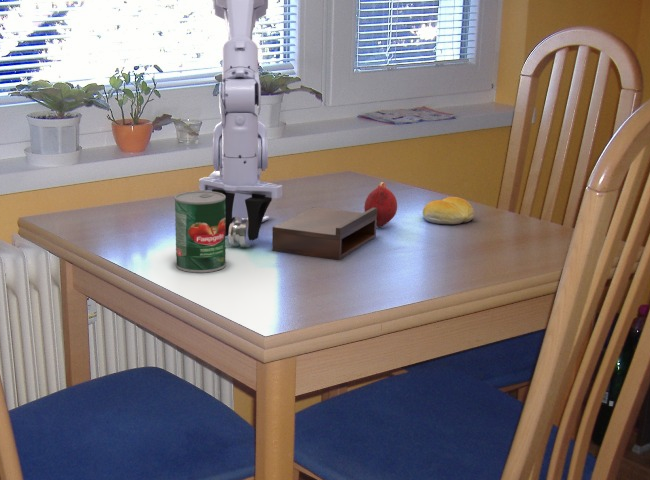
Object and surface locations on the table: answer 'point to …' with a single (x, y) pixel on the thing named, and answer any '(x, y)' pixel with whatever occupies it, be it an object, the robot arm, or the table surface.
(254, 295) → the table surface
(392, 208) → the red squash
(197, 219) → the canned tomato
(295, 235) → the shelf
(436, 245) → the table surface
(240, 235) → the grooved metal pulley
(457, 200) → the bread roll
